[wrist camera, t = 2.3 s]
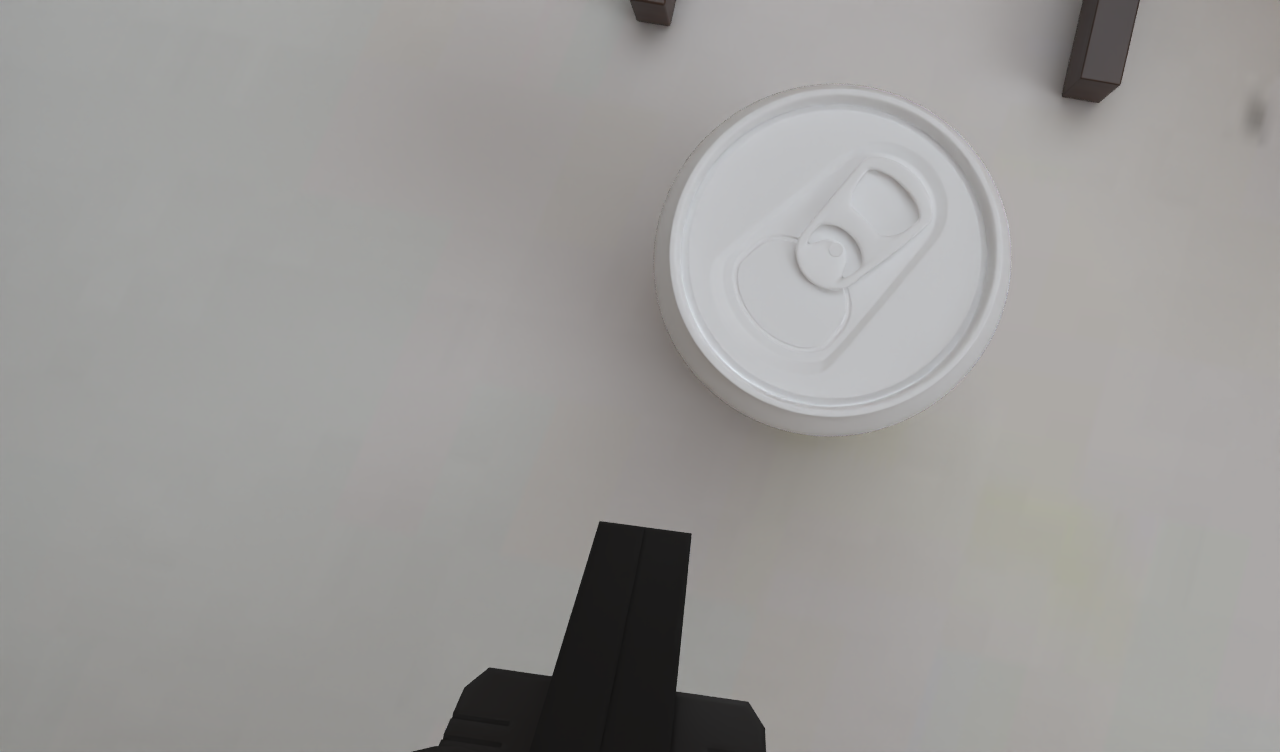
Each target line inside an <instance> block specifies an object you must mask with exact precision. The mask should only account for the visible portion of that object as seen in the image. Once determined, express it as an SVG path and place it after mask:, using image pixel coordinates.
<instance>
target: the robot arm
mask: <svg viewBox="0 0 1280 752" xmlns="http://www.w3.org/2000/svg"><path fill="white" fill-rule="evenodd" d="M690 544H691V533H684V532H676V531H669V530H661V529H654V528H646V527H639V526H632V525H624V524H617V523H609V522H602V521H600V522H599V525H598V528H597V531H596V535H595V538H594V541H593V545H592V548H591V551H590V554H589V558H588V561H587V564H586V567H585V571H584V574H583V577H582V580H581V584H580V587H579V590H578V594H577V597H576V600H575V603H574V607H573V610H572V613H571V616H570V620H569V623H568V626H567V630H566V633H565V636H564V639H563V643H562V646H561V649H560V652H559V656H558V659H557V662H556V665H555V669H554V672H553V675H552V676H545V675H538V674H531V673H524V672H517V671H510V670H503V669H496V668H488V669H487V670H486V671H484V672H483V673H482V674H481V675H479V676H478V677H477V678H476V679H474V680H473V681H472V682H471V683H470V684H468V685H467V686H466V687H465V688H464V690H463V692H462V694H461V696H460V699H459V701H458V703H457V706H456V708H455V710H454V712H453V717H452V718H451V719H450V721H449V724H448V726H447V728H446V730H445V733H444V737H443V740H441V742H440V744H439V746H434V747H430V748H426V749H422V750H417V751H413V752H766V742H765V728H764V726H763V724H762V723H761V721H760V720H759V718H758V716H757V715H756V713H755V712H754V710H753V708H752V707H751V705H750V704H749V702H745V701H738V700H731V699H724V698H717V697H710V696H703V695H697V694H690V693H683V692H676V686H677V676H678V666H679V656H680V645H681V635H682V625H683V615H684V605H685V595H686V585H687V575H688V564H689V554H690Z"/></svg>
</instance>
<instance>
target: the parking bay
mask: <svg viewBox="0 0 1280 752" xmlns="http://www.w3.org/2000/svg"><path fill="white" fill-rule="evenodd" d="M1139 1H1140V0H1083V4H1082V8H1081V12H1080V17H1079V21H1078V26H1077V30H1076V34H1075V39H1074V43H1073V48H1072V52H1071V57H1070V61H1069V65H1068V70H1067V74H1066V79H1065V83H1064V87H1063V92H1062V96H1063V97H1069V98H1074V99H1080V100H1085V101H1091V102H1097V103H1099V102H1100V101H1102V100H1103V99H1104V98H1105V97H1106V96H1108V95H1109V94H1110V93H1111V92H1112V91H1114V90H1115V89H1116V88H1117V87H1118V86H1120V84H1121V80H1122V76H1123V71H1124V67H1125V63H1126V58H1127V54H1128V50H1129V45H1130V41H1131V36H1132V32H1133V28H1134V23H1135V19H1136V14H1137V10H1138V6H1139ZM630 2H631V5H632V8H633V11H634V13H635V16H636V19H637V20H638V21H643V22H649V23H654V24H660V25H666V26H670V24H671V21H672V16H673V11H674V7H675V2H676V0H630Z"/></svg>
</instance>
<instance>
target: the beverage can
mask: <svg viewBox="0 0 1280 752" xmlns="http://www.w3.org/2000/svg"><path fill="white" fill-rule="evenodd" d="M1011 261H1012V256H1011V238H1010V231H1009V225H1008V220H1007V216H1006V212H1005V208H1004V205H1003V202H1002V199H1001V196H1000V194H999V191H998V189H997V187H996V185H995V182H994V180H993V178H992V176H991V175H990V173H989V171H988V169H987V168H986V166H985V164H984V163H983V161H982V160H981V158H980V157H979V156H978V154H977V153H976V152H975V150H974V149H973V148H972V147H971V146H970V144H969V143H968V142H967V141H966V140H965V139H964V138H963V137H962V136H961V135H960V134H959V133H958V132H957V131H956V130H955V129H954V128H953V127H952V126H950V125H949V124H948V123H947V122H946V121H944V120H943V119H942V118H940V117H939V116H937V115H936V114H934V113H933V112H931V111H930V110H928V109H926V108H925V107H923V106H921V105H919V104H917V103H916V102H913V101H911V100H909V99H907V98H905V97H902V96H900V95H897V94H894V93H891V92H888V91H885V90H881V89H877V88H872V87H867V86H861V85H852V84H818V85H810V86H804V87H798V88H794V89H790V90H786V91H783V92H779V93H776V94H774V95H771V96H768V97H766V98H763V99H761V100H759V101H757V102H755V103H753V104H751V105H749V106H747V107H745V108H744V109H742V110H740V111H739V112H737V113H735V114H734V115H732V116H731V117H730V118H728V119H727V120H725V121H724V122H723V123H722V124H720V125H719V126H718V127H717V128H716V129H714V130H713V131H712V132H711V133H710V134H709V135H708V136H707V137H706V138H705V139H704V140H703V141H702V142H701V143H700V144H699V145H698V147H697V148H696V149H695V150H694V151H693V153H692V154H691V155H690V156H689V158H688V159H687V161H686V162H685V163H684V165H683V166H682V168H681V169H680V171H679V173H678V175H677V176H676V178H675V180H674V182H673V184H672V186H671V188H670V190H669V192H668V195H667V197H666V200H665V202H664V205H663V208H662V211H661V214H660V218H659V222H658V226H657V231H656V237H655V245H654V280H655V288H656V295H657V299H658V304H659V308H660V311H661V314H662V318H663V321H664V323H665V326H666V328H667V331H668V333H669V335H670V337H671V339H672V341H673V343H674V345H675V347H676V349H677V350H678V352H679V354H680V355H681V357H682V358H683V360H684V361H685V363H686V364H687V366H688V367H689V368H690V369H691V371H692V372H693V373H694V374H695V376H696V377H697V378H698V379H699V380H700V381H701V382H702V383H703V384H704V385H705V386H706V387H707V388H708V389H709V390H710V391H711V392H712V393H713V394H715V395H716V396H717V397H718V398H720V399H721V400H722V401H724V402H725V403H726V404H728V405H729V406H731V407H732V408H734V409H735V410H737V411H739V412H740V413H742V414H744V415H746V416H748V417H749V418H751V419H754V420H756V421H758V422H760V423H763V424H765V425H768V426H771V427H774V428H777V429H780V430H784V431H788V432H792V433H797V434H804V435H812V436H848V435H856V434H863V433H868V432H872V431H876V430H880V429H883V428H886V427H889V426H892V425H895V424H897V423H900V422H902V421H905V420H907V419H909V418H911V417H913V416H915V415H917V414H919V413H920V412H922V411H924V410H925V409H927V408H929V407H930V406H932V405H933V404H935V403H936V402H937V401H939V400H940V399H941V398H943V397H944V396H945V395H946V394H948V393H949V392H950V391H951V390H952V389H953V388H954V387H955V386H956V385H957V384H958V383H959V382H960V381H961V380H962V379H963V378H964V377H965V376H966V375H967V374H968V373H969V372H970V370H971V369H972V368H973V367H974V365H975V364H976V363H977V361H978V360H979V358H980V357H981V356H982V354H983V353H984V351H985V349H986V348H987V346H988V344H989V342H990V341H991V339H992V337H993V335H994V333H995V331H996V328H997V326H998V324H999V321H1000V318H1001V316H1002V313H1003V310H1004V306H1005V303H1006V299H1007V295H1008V290H1009V284H1010V276H1011Z"/></svg>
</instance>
